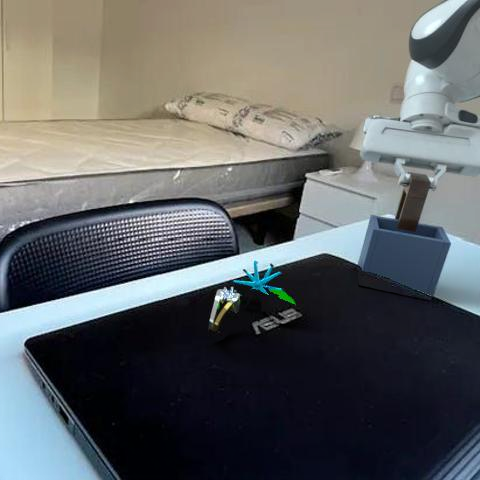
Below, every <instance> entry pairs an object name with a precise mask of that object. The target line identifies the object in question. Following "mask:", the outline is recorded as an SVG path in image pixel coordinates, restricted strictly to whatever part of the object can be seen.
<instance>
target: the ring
mask: <svg viewBox="0 0 480 480" xmlns="http://www.w3.org/2000/svg"><path fill="white" fill-rule="evenodd" d="M240 296H241V293H238V291H237V290H236V289H234V286H231V287H230V289H227V287H226V286H224V287H223V288H222V289H221V288H219V289H217V291H216V294H215V297H214V301H213V306H212V309H211V313H210V318H209V323H208V330H209V329H211V330H212V331H217V330H219V327H220V325H221V323H222V321H223V319H224V317H225V316H226V314H227V312H228V310H229V312H230V311H232V312H233V311H234V312H235V313H237V312H239V313H240V308H241V300H240ZM225 302H226V304H225V305H224V306H223V308H222V309H221V311H220V312H219V309H220V304H224V303H225ZM218 312H219V313H218ZM217 332H218V331H217Z"/></svg>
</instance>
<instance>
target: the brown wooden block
mask: <svg viewBox="0 0 480 480" xmlns="http://www.w3.org/2000/svg"><path fill="white" fill-rule="evenodd" d="M407 174H410V178H409V179H410V180H409V184H408V185H407V187H405V186H403V188H402V191H401V195H400V199H399V201H398V205H397V209H396V212H395V215H394V219H398V220H399V221H398V225H397V229H402V230H408V231H413V232H416V229H417V226H418V223H420V220H421V217H422V213H423V210H424V206H425V203H426V200H427V197H428V193H429V188H430V184H431V182H430V180H429V176H428V175H427V174H425V173H419V172H412V171H407Z"/></svg>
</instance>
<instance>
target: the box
mask: <svg viewBox="0 0 480 480" xmlns="http://www.w3.org/2000/svg"><path fill="white" fill-rule="evenodd" d="M398 221H399V220H398V219H395V218H391V217H386V216H381V215H375V214H370V217H369V221H368V224H367V228H366V231H365V236H364V239H363V243H362V247H361V250H360V254H359V257H358V262H357V265H359V266H360V267H361V268H362V271H365V272H371V273H374V274H377V275H380V276H383V277H386V278H389V279H391V280H394V281H396V282H399V283H401V284H404V285H407V286H409V287H411V288H414V289H416V290H419V291H421V292H424V293H426V294H429V295H431V296H433V297H434V295H435V292H436V289H437V287H438V284H439V280H440V278H441V274H442V272H443V270H444V269H443V268H444V267H445V266H444V265H445V263H446V260H447V257H448V254H449V251H450V248H451V245H452V242H451V240H450V239H449V237H448V234H447V233H446V231H445V229H444V227H443V226H438V225H433V224H432V225H431V224H427V223H421V222H419V223H418V226H417V229H416V232H413V231H408V230H402V229H397V225H398Z"/></svg>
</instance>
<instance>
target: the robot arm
mask: <svg viewBox="0 0 480 480" xmlns="http://www.w3.org/2000/svg"><path fill="white" fill-rule="evenodd" d="M479 19H480V0H442V1H440V2H439V3H438V4H436V5H434V6H432V7H431V8H430V9H428V10H427V11H425V12H424V13H423V14H422V15H421V16H420V17H418V19H417V20H416V21H415V22H414V24H413V25H412V27H411V30H410V32H409V38H408V52H409V57H410V59H411V60H410V62H409V65H408V66H407V71H406V74H405V79H404V83H403V95H404V98H403V100H402V102H401V106H400V109H399V110H400V111H399V117H397V116H384V115H381V114H374V115H373V116H369V117H367V118H365V120H364V121H363V125H362V131H363V134H364V138H363V141H362V144H361V148H360V150H359V157H360V158H361V159H362V161H365V162H370V163H379V164H384V165H392V166H393V171H394V173H395V175H396V177H397V178H398V182H397V186H398V187H404V186H405V187H407V185H408V184H409V180H410V179H409V178H410V174H408V172H407V173H406V171H405V169H404V167H405V168H411V169H418V170H424V171H432V172H433V176H434V177H432V176H428V178H429V180H430V182H431V184H430V188H429V191H430V192H435V191H436V190H437V187H438V182H439V181H440V180H441V178H443V176H444V174H450V175H458V176H464V177H465V176H466V177H469V178H470V177H471V178H476V177H477V176H479V175H480V114H478V113H476V112H472V111H469V110H467V109H465V108H462V107H461V106H459V105H457V103H458V104H459V103H465V102H469V101H472V100H475V99H478V98H480V20H479ZM429 191H428V192H429Z"/></svg>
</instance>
